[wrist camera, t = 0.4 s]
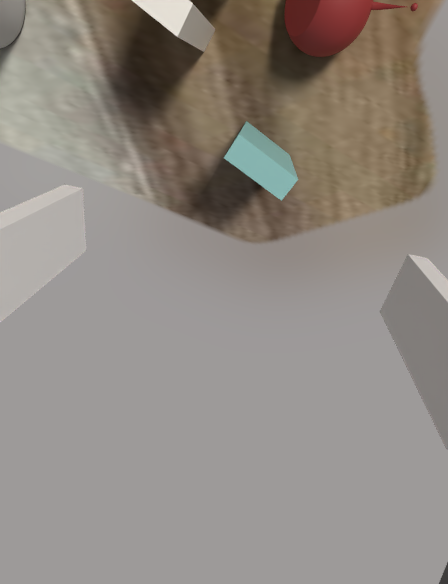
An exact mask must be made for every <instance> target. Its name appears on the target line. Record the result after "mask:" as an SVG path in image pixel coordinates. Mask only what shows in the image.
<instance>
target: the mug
mask: <svg viewBox="0 0 448 584" xmlns="http://www.w3.org/2000/svg"><path fill="white" fill-rule="evenodd" d="M24 17H25V0H0V48H3V47H6V46H7V45H9V44H10V43H12V42H13V41H14V40H15V38H16V37H17V36H18V34H19V32H20V31H21V28H22V25H23V22H24Z"/></svg>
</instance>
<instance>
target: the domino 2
mask: <svg viewBox="0 0 448 584" xmlns="http://www.w3.org/2000/svg"><path fill="white" fill-rule="evenodd" d="M224 159H226V160H227V161H229V162H230V163H231V164H233V165H234V166H235V167H237V168H238V169H239V170H241V171H242V172H243V173H245V174H246V175H247V176H249V177H250V178H252V179H253V180H254V181H256V182H257V183H258V184H260V185H261V186H262V187H264V188H265V189H266V190H268V191H269V192H271V193H272V194H273V195H275V196H276V197H277V198H279V199H280V200H281V201H282V199H283V198H284V197H285V196H286V194H287V193H288V192H289V190H290V189H291V188H292V187H293V185H294V184H295V183H296V182H297V180H298V178H297V175H296V172H295V169H294V166H293V163H292V160H291V158H290V155H289V154H288V153H287V152H285V151H284V150H283V149H281V148H280V147H279V146H278V145H276V144H275V143H274V142H272V141H271V140H270V139H269V138H267V137H266V136H265V135H263V134H262V133H261V132H260V131H258V130H257V129H256V128H255V127H253V126H252V125H251V124H249V123H248V122H247V121H246V123H245V124H244V126H243V127H242V129H241V131H240V132H239V134H238V135H237V137H236V138H235V140H234V142H233V143H232V145H231V147H230V148H229V150H228V152H227V154H226V155H225V157H224Z"/></svg>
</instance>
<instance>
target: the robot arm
mask: <svg viewBox="0 0 448 584" xmlns="http://www.w3.org/2000/svg"><path fill="white" fill-rule="evenodd" d="M85 251H86V236H85V218H84V199H83V188H79V187H74V186H69V185H63V186H60V187H58V188H56V189H53V190H51V191H49V192H46V193H44V194H42V195H39V196H37V197H35V198H33V199H30V200H28V201H26V202H24V203H21V204H19V205H17V206H14V207H12V208H10V209H7V210H5V211H3V212H0V322H1V321H2V320H4V319H5V318H6V317H7V316H8V315H10V314H11V313H12V312H13V311H14V310H16V309H17V308H18V307H19V306H20V305H22V304H23V303H24V302H25V301H26V300H28V299H29V298H30V297H31V296H32V295H33V294H35V293H36V292H37V291H38V290H40V289H41V288H42V287H43V286H44V285H46V284H47V283H48V282H49V281H50V280H52V279H53V278H54V277H55V276H56V275H58V274H59V273H60V272H61V271H62V270H63V269H65V268H66V267H67V266H68V265H70V264H71V263H72V262H73V261H74V260H76V259H77V258H78V257H79V256H80V255H81V254H83V253H84V252H85ZM380 313H381V315H382V317H383V319H384V321H385V323H386V325H387V327H388V330H389V332H390V334H391V336H392V338H393V340H394V342H395V344H396V346H397V348H398V350H399V352H400V354H401V356H402V358H403V361H404V362H405V365H406V367H407V369H408V371H409V373H410V375H411V377H412V379H413V381H414V383H415V385H416V387H417V389H418V391H419V394H420V396H421V398H422V399H423V402H424V404H425V406H426V408H427V410H428V412H429V414H430V416H431V418H432V420H433V422H434V425H435V427H436V429H437V430H438V433H439V435H440V437H441V439H442V441H443V443H444V445H445V447H446V449H448V280H447V279H446V278H445V277H444V276H443V275H442V273H441V272H440V271H439V270H438V269H437V268H436V267H435V266H434V265H433V264H432V263H431V262H430V260H429V259H428V258H424V257H419V256H414V255H409V254H408V255H407V257H406V259H405V261H404V263H403V266H402V267H401V269H400V271H399V273H398V275H397V277H396V279H395V281H394V284H393V285H392V288H391V290H390V292H389V294H388V296H387V298H386V300H385V302H384V304H383V306H382V308H381V310H380ZM439 584H448V563H447V566H446V568H445V570H444V573H443V575H442V578H441V580H440V583H439Z"/></svg>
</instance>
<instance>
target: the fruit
mask: <svg viewBox="0 0 448 584" xmlns="http://www.w3.org/2000/svg"><path fill="white" fill-rule="evenodd" d="M401 7H405V6H397V5H390V4H384V3H378V2H373V0H286V3H285V25H286V29H287V32H288V34H289V36H290V38H291V40H292V42H293V43H294V44H295V45H296V46H297V47H298V48H299V49H300V50H301V51H302V52H304V53H306V54H308V55H311V56H315V57H325V56H330V55H333V54H336V53H338V52H340V51H342V50H343V49H345V48H346V47H347V46H349V45H350V44H351V43H352V42H353V41H354V40H355V39H356V38H357V36H358V35H359V34H360V32H361V31H362V29H363V28H364V26H365V24H366V22H367V20H368V17H369V15H370V12H371V10H383V9H392V8H401ZM417 7H418V5H417V4H416V3H414V4H412V6H411V11H415V10H416V9H417Z"/></svg>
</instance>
